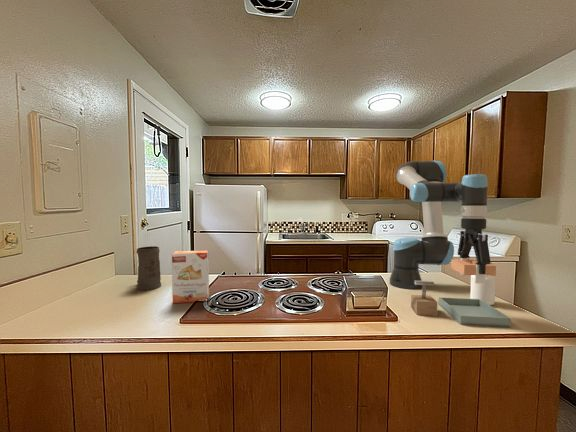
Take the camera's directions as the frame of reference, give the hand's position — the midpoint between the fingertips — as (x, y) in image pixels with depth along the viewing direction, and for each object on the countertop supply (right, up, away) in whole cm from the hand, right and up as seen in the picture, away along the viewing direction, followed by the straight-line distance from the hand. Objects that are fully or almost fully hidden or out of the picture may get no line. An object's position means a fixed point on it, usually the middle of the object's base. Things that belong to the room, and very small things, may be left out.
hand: (472, 278), depth 99 cm
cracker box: (-108, -13, +16) cm, 110 cm away
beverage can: (+13, -13, +13) cm, 22 cm away
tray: (0, -13, +1) cm, 13 cm away
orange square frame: (0, +3, 0) cm, 3 cm away
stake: (-16, -13, +4) cm, 21 cm away
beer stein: (-137, -12, +37) cm, 143 cm away
